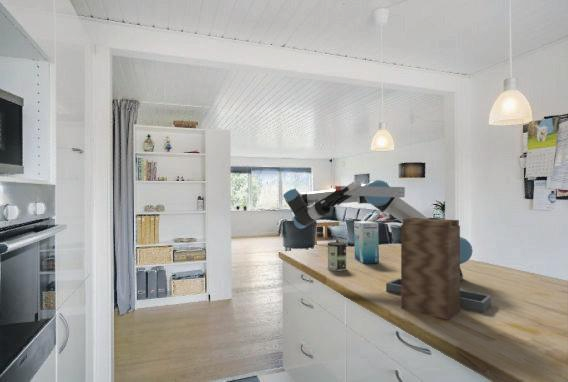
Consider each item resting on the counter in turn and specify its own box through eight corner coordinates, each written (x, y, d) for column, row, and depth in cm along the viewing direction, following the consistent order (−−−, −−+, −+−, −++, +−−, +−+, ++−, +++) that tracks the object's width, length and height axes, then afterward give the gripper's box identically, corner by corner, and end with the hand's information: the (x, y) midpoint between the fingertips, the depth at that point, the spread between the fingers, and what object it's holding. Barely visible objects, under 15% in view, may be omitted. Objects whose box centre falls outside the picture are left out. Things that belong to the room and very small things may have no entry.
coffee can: (346, 267, 184) (346, 242, 185) (346, 271, 174) (346, 244, 174) (328, 266, 186) (328, 241, 187) (326, 270, 176) (326, 244, 177)
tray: (386, 291, 138) (386, 283, 139) (397, 286, 146) (397, 278, 146) (483, 312, 113) (483, 302, 113) (491, 305, 121) (491, 295, 121)
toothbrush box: (353, 258, 211) (353, 220, 212) (369, 258, 212) (369, 220, 212) (362, 263, 194) (362, 222, 194) (379, 263, 194) (379, 222, 195)
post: (401, 308, 118) (401, 219, 118) (414, 300, 127) (414, 217, 127) (448, 320, 107) (448, 221, 107) (460, 310, 116) (459, 219, 116)
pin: (335, 195, 146) (335, 186, 146) (340, 195, 149) (340, 186, 149) (400, 197, 126) (400, 186, 126) (404, 197, 129) (404, 187, 128)
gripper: (333, 215, 160) (371, 192, 146) (311, 217, 147) (350, 192, 133) (327, 201, 162) (364, 178, 148) (304, 202, 150) (343, 176, 136)
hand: (357, 184), depth 141 cm, fingers closed on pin, 4 cm apart
